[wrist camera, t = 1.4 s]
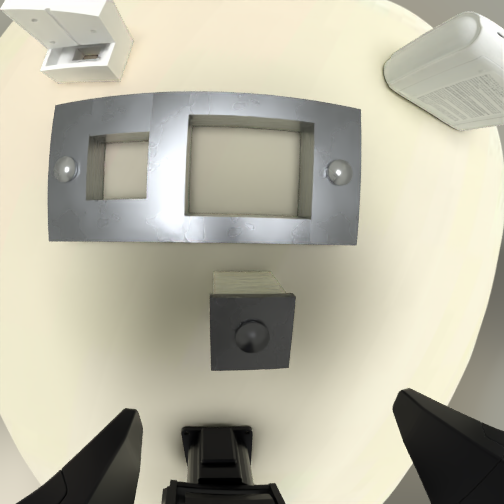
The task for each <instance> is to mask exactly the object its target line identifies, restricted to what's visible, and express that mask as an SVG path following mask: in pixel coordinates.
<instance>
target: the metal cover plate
mask: <svg viewBox="0 0 504 504" xmlns="http://www.w3.org/2000/svg"><path fill="white" fill-rule="evenodd" d="M192 126H220V127H243V128H259V129H272V130H283V131H293V132H301V135H300V172H299V197H298V216H285V215H256V214H215V213H189V181H190V158H191V139H192ZM134 141H149V149H148V167H147V198H141V199H103V177H104V157H105V144H106V143H118V142H134ZM360 183H361V109H356V108H351V107H347V106H342V105H336V104H331V103H325V102H319V101H313V100H306V99H299V98H291V97H283V96H274V95H263V94H251V93H235V92H157V93H141V94H129V95H119V96H110V97H102V98H95V99H88V100H82V101H76V102H70V103H65V104H60V105H56V106H55V112H54V119H53V126H52V134H51V144H50V155H49V171H48V232H49V241H103V242H210V243H272V244H321V245H357V234H358V221H359V205H360Z"/></svg>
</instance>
